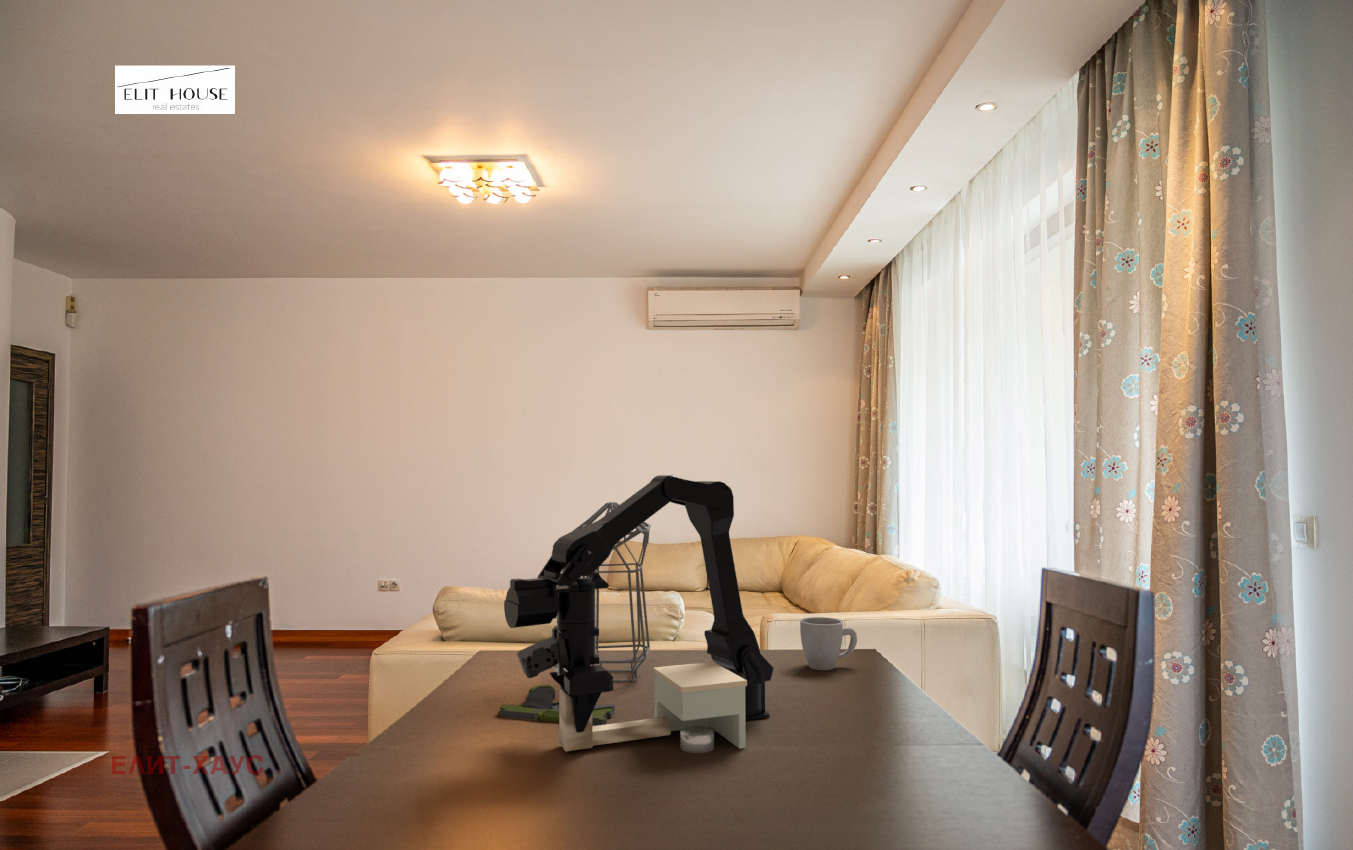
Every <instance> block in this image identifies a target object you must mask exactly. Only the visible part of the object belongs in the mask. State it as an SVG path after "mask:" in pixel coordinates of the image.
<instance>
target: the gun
mask: <svg viewBox="0 0 1353 850" xmlns="http://www.w3.org/2000/svg"><path fill="white" fill-rule="evenodd" d="M555 698H556V688H555V687H554V686H553V685H550V684H539V685H536V686H533V687H531V688H529V689H528V693H527V695H526V697H525V704H524V703H523V704H516V705H515V704H514V703H513V704H509V703H508V704H502V705H500V706H499V710H498V711H497V716H499V717H500V718H506V719H517V720H518V719H519V720H530V721H533V722H536V723H537V722H543V723H545V722H547V723H556V724H557V723H558V724H559V701H556V702H554V700H555ZM615 707H616V706H615V704H611V703H606V704H596V705H595V707H594V709H593V712H592V726H599V725H606V724H608V718H609V719H612V718H613V715H614V714H615V713H616V711H615V709H616V708H615Z"/></svg>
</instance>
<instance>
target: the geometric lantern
mask: <svg viewBox="0 0 1353 850" xmlns="http://www.w3.org/2000/svg"><path fill="white" fill-rule="evenodd" d="M619 505H620V504H619V503H618V502H614V501H613V502H611V501H610V502H606V503H604V504H603V505H602V506H601V507H600V508H599V509H598V510H597V511H596V512H594V513H593V514H592V515H591V516H589V518H587V519H586V520H585V521H583V523H581V524H580V525H578V526H577V527H576V528H574V529H573V530H572V531H574V530H576V529H578V528H581V527H584V526H587V525H589V524H592V523H594V522H596V520H597V519H598V518H599V517H601V515H603V513H604V512H605V511H606V512H605V515H607V514H608V513H609V512H611V511H612V510H613V509H615V508H616V507H617V506H619ZM651 527H652V525H651V524H650V523H648V522H646V521H644V522H643V523H642V524H641V525H639V526H638V527H637V528H635V529H634V530H633V531H631V532H630V533H629V534H628V535H626V536H625V537H624V538H623V539H622V541H621V540H620V541H619V542H618V543H617V544H616V545H615V546H614V548H613V550H612V551H614V550H615V552H616V553H617V555H618V557H619V559H620V560H621V562H622V563H608V564H607V563H603V564H602V565H601V566H600V567H612V566H613V567H614V566H615V567H616V566H619V567H620V566H625V568H626V570H600V567H599V568H598V569H597V570H596V571H595V572H597V573H599V574H612V573H617V574H619V573H627V579H628V582H627V584H628V596H629V597H628V598H629V610H630V625H631V627H630V628H631V638H632V639H631V640H632V644H614V645H611V644H610V645H599V636H600V635H599V636H596V655H597V656H599V664H593V665H591V666H597V665H601V666H602V664H630V669H629V668H628V669H606V670H607V671H608V672H609V673H631V679H613V683H625V682H626V683H632V682H633V683H634V682H636V681H638V680H639V670H638V669H639V668H640V666H641V665H642V664H643V663H644V662H645V661H646V660H647V658H648V655H649V652H650V648H651V645H650V644H651V643H650V636H649V635H650V633H649V625H648V615H647V613H648V612H647V606H646V605H647V604H646V594H645V584H644V573H643V565H644V559H645V555H646V551H647V547H648V545H649V543H650V542H649V539H650V530H651ZM640 534H642V535H643V537H642V544H641V551H640V554H639V558H638V560H636V558H635V556H634V555H633V553H632V552H631V550H630V549H629V546H628V545H627V542H629V541H630V540H631V539H634V538H635V537H637V536H639V535H640ZM622 545H624V546H625V547H626V549H627V551H628V552H629V554H630V555H631V557H632V559H633V560H634V562H632V563H631V562H629V563H627V561H626V560H625V559H624V557H623V555H622V553H621V552H620V551H619V549H618V548H619V547H620V546H622ZM630 566H635V569H631V568H630ZM633 573H635V583H636V584H635V585H636V586H635V587H636V591H635V592H636V612H637V614H636V615H637V616H636V617H637V618H636V619H637V622H636V623H637V643H636V633H635V618H634V605H633V593H632V592H633V591H632V590H633V589H632V575H631V574H633ZM585 577H587V576H582V577H581V578H585ZM642 606H643V608H642ZM599 613H600V589H595V620H596V627H597V628H599V629H600V627H599V626H600V624H599V623H600V621H599V620H600V617H599V616H600V614H599ZM643 616H644V617H643ZM643 618H644V619H643ZM644 625H645V626H644ZM644 628H645V629H644ZM645 636H646V637H645ZM645 639H646V640H645ZM641 643H642V644H641ZM618 648H620V649H621V648H632V653H633V657H632V658H631V659H615V660H613V659H611V660H609V659H608V660H601V656H600V653H599V652H600V651H599V649H618ZM640 648H642V651H643V652H642V653H641V654H640V655H639V656H638V657H637V654H638V652H639V649H640ZM638 663H639V664H638ZM634 673H635V675H634Z"/></svg>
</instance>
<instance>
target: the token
mask: <svg viewBox="0 0 1353 850" xmlns="http://www.w3.org/2000/svg"><path fill="white" fill-rule="evenodd" d="M679 732H680V734H679V735H680V737H679V738H680V739H679V742H680V743H679V744H680V745H679V746H680V750H682V751H683V752H685V753H686V752H687V753H691V754H705V753H708V752H709V753H710V752H711V751H713V750H714V748H715V730H714V729H713V728H711V727H710V726H708V727H707V726H699V725H695V726H687V727H684V728H682V729H681V730H679Z"/></svg>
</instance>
